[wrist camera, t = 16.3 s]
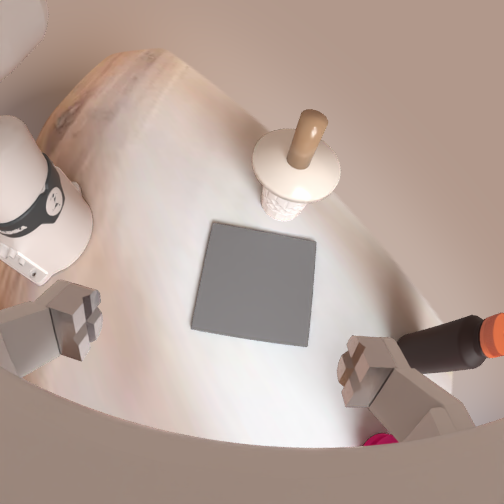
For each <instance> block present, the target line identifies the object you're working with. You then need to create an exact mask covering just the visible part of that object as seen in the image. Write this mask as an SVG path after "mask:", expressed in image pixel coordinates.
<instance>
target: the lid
mask: <svg viewBox="0 0 504 504" xmlns="http://www.w3.org/2000/svg"><path fill="white" fill-rule="evenodd" d="M327 125H328V120H327V118H326V116H324V115H323V114H322V113H320V112H319V111H316V110H312V109H308V110H304V111H303V112H302V113H301V116H300V119H299V122H298V125H297V128H296V129H279V130H274V131H272V132H269V133H267V134H265V135H264V136H263V137H261V138H260V139H259V141H258V142H257V143H256V145H255V148H254V151H253V156H252V167H253V171H254V173H255V176H256V177H257V179H258V181H259V182H260V183H261V184H262V185H263V186H264V187H265V188H266V189H267V190H268V191H269V192H271V193H272V194H274V195H275V196H277V197H279V198H281V199H284V200H287V201H290V202H295V203H313V202H317V201H320V200H322V199H324V198H326V197H327V196H329V195H330V194H331V193H332V192H333V190H334V189H335V187H336V185H337V184H338V182H339V179H340V175H341V168H340V163H339V160H338V158H337V156H336V154H335V153H334V152H333V150H332V149H331V148H330V147H329V146H328V145H327V144H326V143H325V142H324V141H322V140H321V138H322V136H323V133H324V131H325V129H326V127H327Z"/></svg>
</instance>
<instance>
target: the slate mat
mask: <svg viewBox="0 0 504 504" xmlns="http://www.w3.org/2000/svg"><path fill="white" fill-rule="evenodd" d="M315 255H316V242H314V241H309V240H304V239H299V238H294V237H288V236H283V235H278V234H273V233H267V232H262V231H256V230H251V229H246V228H240V227H234V226H229V225H223V224H218V223H213V226H212V230H211V234H210V239H209V243H208V248H207V253H206V257H205V262H204V267H203V271H202V276H201V281H200V286H199V291H198V296H197V301H196V306H195V311H194V316H193V321H192V327H191V329H193V330H198V331H204V332H209V333H214V334H220V335H226V336H232V337H238V338H244V339H250V340H257V341H264V342H271V343H278V344H286V345H294V346H302V347H307V346H308V337H309V328H310V318H311V307H312V296H313V283H314V270H315Z"/></svg>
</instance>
